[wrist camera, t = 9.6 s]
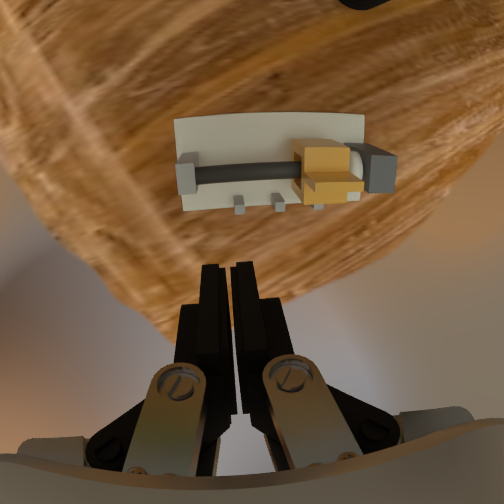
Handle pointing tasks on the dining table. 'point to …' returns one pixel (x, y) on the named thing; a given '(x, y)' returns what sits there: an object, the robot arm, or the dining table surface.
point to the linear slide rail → (266, 157)
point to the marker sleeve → (323, 171)
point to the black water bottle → (362, 3)
